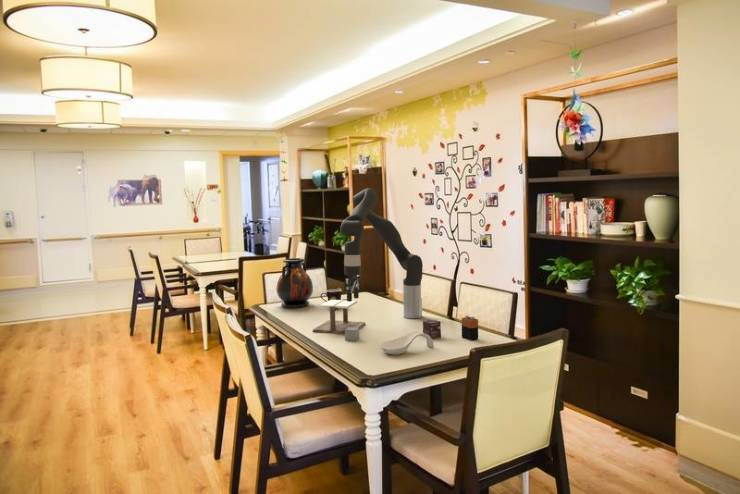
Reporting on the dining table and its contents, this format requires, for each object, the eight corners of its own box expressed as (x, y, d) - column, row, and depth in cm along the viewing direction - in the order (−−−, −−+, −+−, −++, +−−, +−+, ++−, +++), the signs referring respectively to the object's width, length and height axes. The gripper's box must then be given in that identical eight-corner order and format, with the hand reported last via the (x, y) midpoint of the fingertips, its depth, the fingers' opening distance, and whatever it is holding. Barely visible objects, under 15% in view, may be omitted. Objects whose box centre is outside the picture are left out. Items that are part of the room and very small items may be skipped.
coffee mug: (344, 307, 319) (344, 290, 318) (336, 309, 312) (335, 292, 311) (328, 305, 326) (328, 288, 325) (320, 307, 318) (319, 290, 317)
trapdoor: (357, 302, 272) (357, 300, 272) (347, 308, 259) (347, 306, 259) (331, 301, 276) (330, 299, 276) (320, 307, 263) (320, 305, 263)
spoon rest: (389, 359, 217) (388, 341, 217) (375, 351, 228) (374, 335, 227) (438, 350, 228) (438, 333, 227) (423, 343, 238) (423, 327, 238)
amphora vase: (294, 301, 340) (293, 256, 338) (321, 304, 328) (319, 258, 325) (269, 307, 323) (267, 260, 320) (296, 311, 310) (294, 262, 308)
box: (429, 339, 244) (429, 323, 244) (422, 336, 250) (422, 320, 249) (441, 337, 247) (441, 321, 247) (433, 334, 253) (433, 319, 252)
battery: (471, 341, 240) (471, 318, 239) (461, 337, 246) (461, 315, 245) (478, 339, 242) (478, 317, 242) (468, 336, 248) (468, 314, 247)
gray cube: (359, 338, 249) (359, 327, 249) (355, 341, 244) (355, 330, 244) (348, 337, 251) (348, 326, 250) (345, 340, 246) (344, 329, 245)
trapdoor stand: (365, 324, 275) (364, 299, 274) (351, 334, 256) (351, 307, 255) (328, 322, 281) (327, 298, 280) (312, 332, 262) (311, 306, 261)
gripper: (354, 266, 242) (354, 302, 243) (365, 263, 255) (365, 297, 256) (338, 266, 244) (339, 302, 245) (350, 262, 257) (350, 296, 259)
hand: (352, 299), depth 251 cm, fingers open, 8 cm apart
